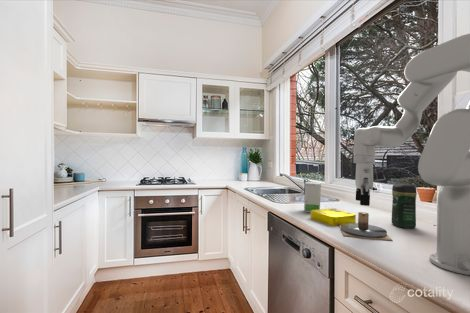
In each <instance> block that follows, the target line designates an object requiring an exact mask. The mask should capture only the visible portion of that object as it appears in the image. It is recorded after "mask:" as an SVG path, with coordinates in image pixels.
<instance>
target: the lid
mask: <svg viewBox="0 0 470 313" xmlns="http://www.w3.org/2000/svg"><path fill="white" fill-rule="evenodd" d="M357 217H358V219H357V222H356V223H346V224H342V225H341V229H340V231H341V230H342V231H344V232H346V233H348V234H351V235H355V236H360V237H368V238H382V237H385V236H387V235H388V234H387V233H388V232H387V229H385V228H382V227H380V226H376V225H373V224H369V212H364V211H360V212H358V215H357ZM342 231H341V232H342Z"/></svg>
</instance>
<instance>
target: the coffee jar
mask: <svg viewBox="0 0 470 313" xmlns="http://www.w3.org/2000/svg"><path fill="white" fill-rule="evenodd" d="M391 187H392V188H391V190H392V191H391V193H392V201H391V202H392V204H391V205H392V207H391V208H392V209H391V224H392V225H394V226H395V227H399V228H403V229H416V227H417V214H416V213H417V212H416V211H417V209H416V208H417V203H416V202H417V195H418V194H417V187H416V186H414V185H413V184H409V183H404V182H400V183H399V182H398V183H397V182H396V183H395V184H393V185H392V186H391Z"/></svg>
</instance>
